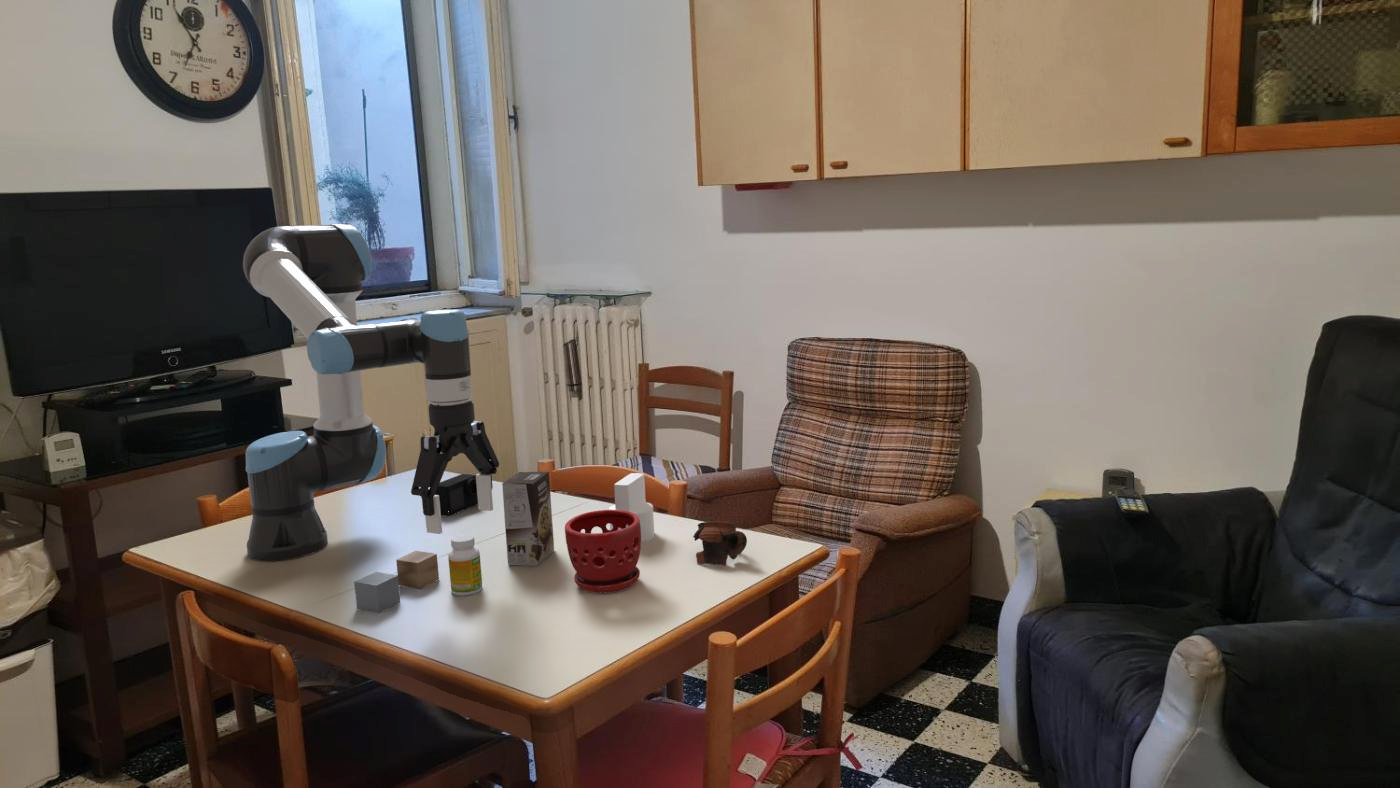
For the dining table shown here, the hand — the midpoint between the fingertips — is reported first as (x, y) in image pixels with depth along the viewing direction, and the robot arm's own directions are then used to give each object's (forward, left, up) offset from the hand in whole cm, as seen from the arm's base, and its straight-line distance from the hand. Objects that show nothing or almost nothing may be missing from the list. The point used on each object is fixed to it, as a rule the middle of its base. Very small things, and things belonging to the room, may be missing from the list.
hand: (461, 521), depth 167 cm
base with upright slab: (+13, +36, -13) cm, 40 cm away
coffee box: (+1, +18, -13) cm, 22 cm away
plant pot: (+22, +11, -13) cm, 28 cm away
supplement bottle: (0, 0, -13) cm, 13 cm away
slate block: (-10, -11, -13) cm, 20 cm away
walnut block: (-11, 0, -13) cm, 17 cm away
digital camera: (-34, +39, -13) cm, 54 cm away
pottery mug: (+35, +30, -13) cm, 49 cm away
